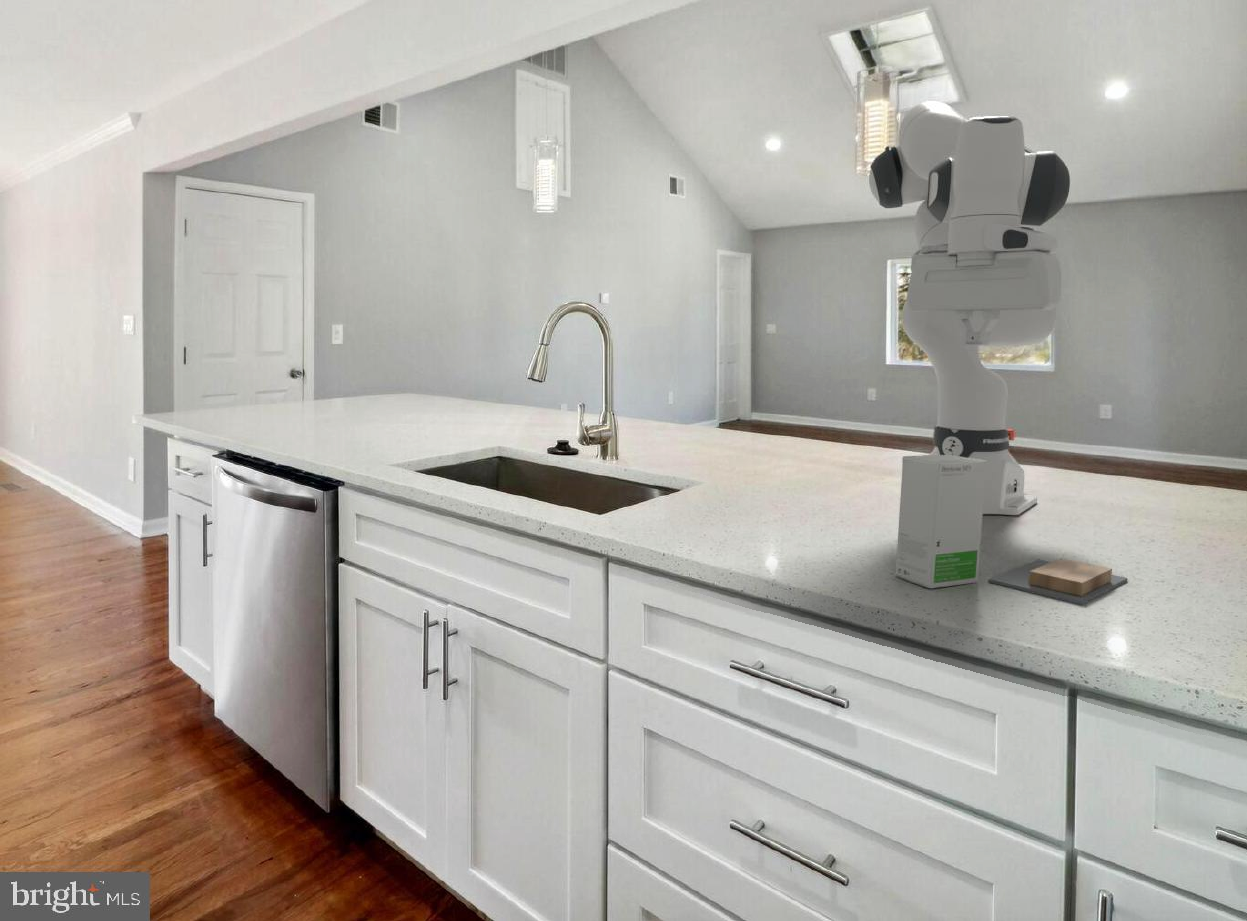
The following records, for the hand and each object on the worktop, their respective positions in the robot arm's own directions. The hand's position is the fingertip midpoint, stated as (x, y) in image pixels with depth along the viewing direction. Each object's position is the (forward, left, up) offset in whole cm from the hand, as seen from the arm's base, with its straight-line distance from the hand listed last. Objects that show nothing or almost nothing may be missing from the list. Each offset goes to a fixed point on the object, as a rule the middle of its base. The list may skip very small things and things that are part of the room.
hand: (975, 344), depth 114 cm
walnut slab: (+6, +14, -28) cm, 32 cm away
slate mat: (+5, +15, -29) cm, 33 cm away
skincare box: (+16, +5, -29) cm, 34 cm away
